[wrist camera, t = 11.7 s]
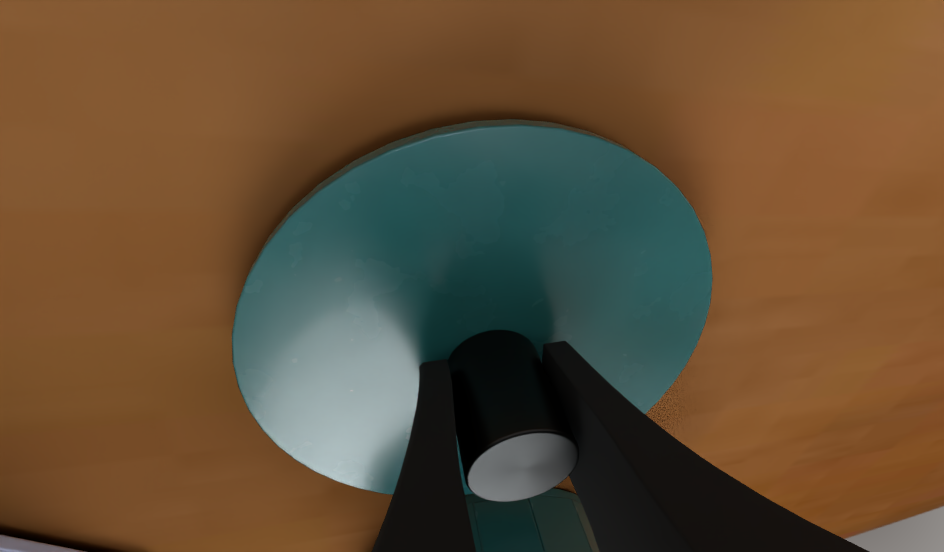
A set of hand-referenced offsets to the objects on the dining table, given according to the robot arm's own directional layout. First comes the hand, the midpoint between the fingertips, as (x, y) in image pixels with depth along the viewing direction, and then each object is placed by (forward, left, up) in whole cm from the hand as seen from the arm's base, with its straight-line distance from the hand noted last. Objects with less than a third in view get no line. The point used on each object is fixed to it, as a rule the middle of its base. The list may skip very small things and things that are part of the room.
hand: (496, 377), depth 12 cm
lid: (0, 0, -1) cm, 1 cm away
